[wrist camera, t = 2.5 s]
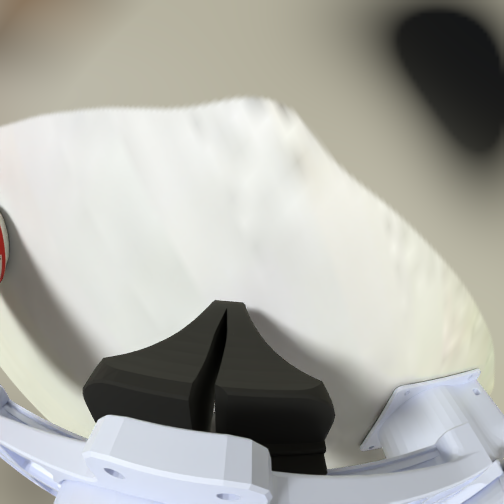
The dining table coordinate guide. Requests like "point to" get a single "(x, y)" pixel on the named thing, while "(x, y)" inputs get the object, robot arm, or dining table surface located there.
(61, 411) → the dining table surface
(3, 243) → the beverage can
